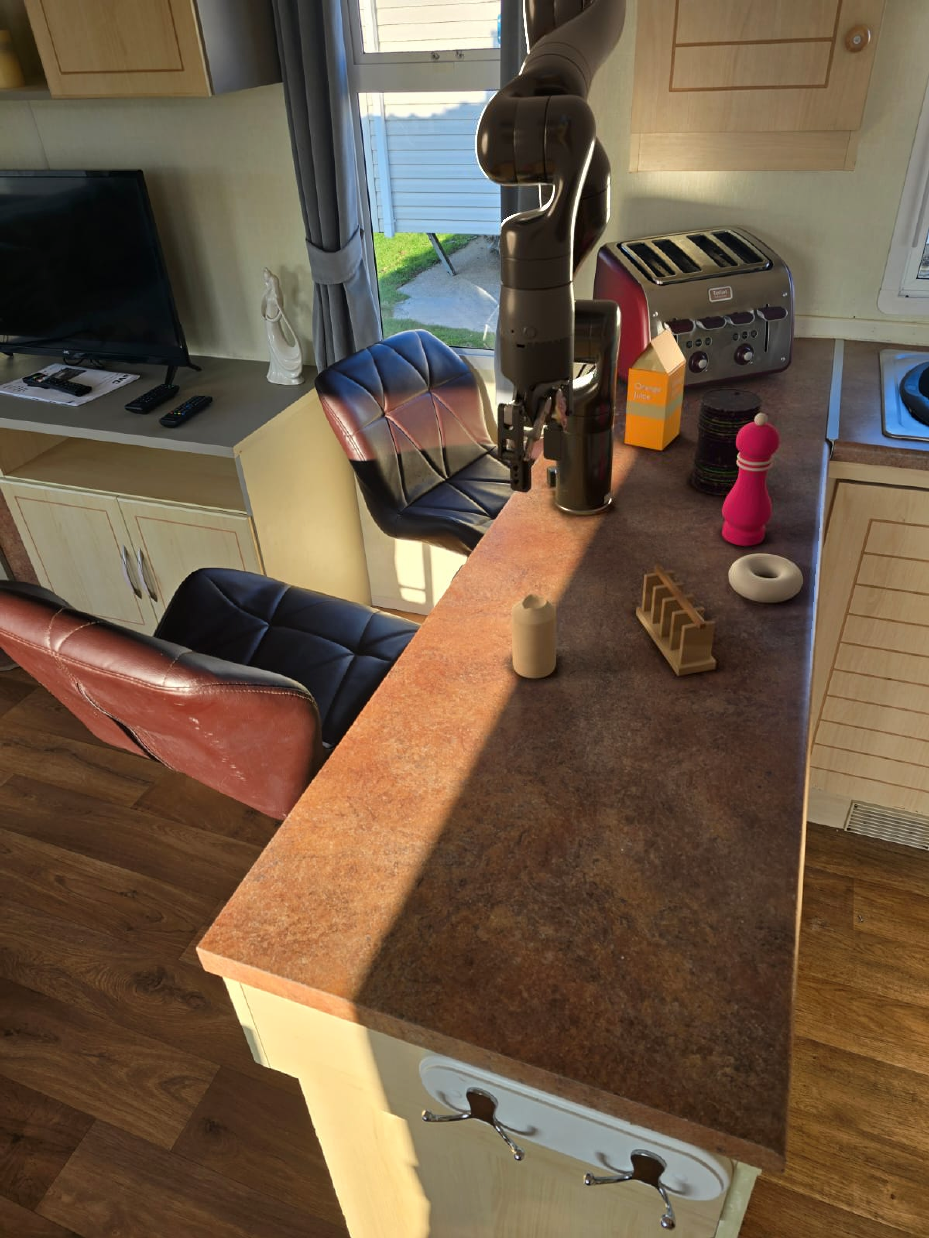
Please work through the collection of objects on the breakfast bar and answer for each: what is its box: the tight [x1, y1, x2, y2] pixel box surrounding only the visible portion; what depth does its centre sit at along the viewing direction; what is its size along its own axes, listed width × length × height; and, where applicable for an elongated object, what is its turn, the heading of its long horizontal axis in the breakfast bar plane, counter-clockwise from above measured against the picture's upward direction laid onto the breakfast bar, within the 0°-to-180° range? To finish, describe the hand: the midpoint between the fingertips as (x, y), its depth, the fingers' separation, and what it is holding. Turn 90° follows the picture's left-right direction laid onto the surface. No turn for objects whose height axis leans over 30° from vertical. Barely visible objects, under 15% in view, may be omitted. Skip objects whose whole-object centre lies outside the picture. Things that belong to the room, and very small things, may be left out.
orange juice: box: [624, 327, 687, 451], centre depth 158 cm, size 8×9×20 cm
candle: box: [510, 593, 557, 679], centre depth 106 cm, size 6×6×10 cm
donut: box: [727, 553, 804, 604], centre depth 120 cm, size 10×4×10 cm
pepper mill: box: [721, 412, 781, 547], centre depth 127 cm, size 7×7×20 cm
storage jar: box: [691, 387, 763, 496], centre depth 143 cm, size 10×10×15 cm
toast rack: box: [635, 564, 717, 677], centre depth 110 cm, size 14×5×8 cm, turn 12°
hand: (537, 474), depth 95 cm, fingers open, 8 cm apart
